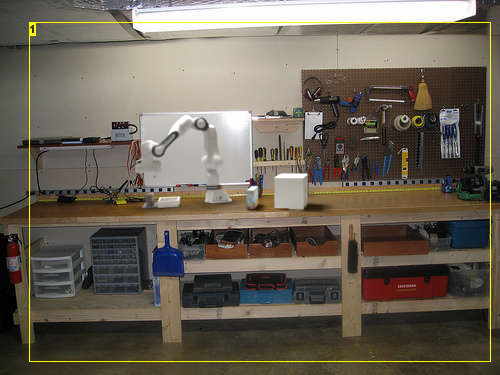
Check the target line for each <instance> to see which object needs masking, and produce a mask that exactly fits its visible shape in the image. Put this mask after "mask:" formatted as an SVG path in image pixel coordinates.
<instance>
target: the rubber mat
mask: <svg viewBox="0 0 500 375" xmlns="http://www.w3.org/2000/svg"><path fill="white" fill-rule="evenodd" d="M156 208H158V202H155V204H154V205H153V206H148V207H146V202H145V203H144V204H143V205H142V207H141V209H156Z"/></svg>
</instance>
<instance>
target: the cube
mask: <svg viewBox="0 0 500 375" xmlns="http://www.w3.org/2000/svg"><path fill="white" fill-rule="evenodd" d="M308 176H309V174H308V173H280V174H278V175H276V176H274V177H273V178H274V182H273V185H274V190H273V191H274V209H275V208H289V209H304V207H305V206H306V205H307V206H308V204H307V203H308V193H309V192H308V191H309V189H308V188H309V186H308V185H309V184H308V182H309V180H308V179H309V178H308ZM307 206H306V207H307ZM306 207H305V208H306ZM304 210H305V209H304Z"/></svg>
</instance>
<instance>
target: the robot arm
mask: <svg viewBox="0 0 500 375" xmlns="http://www.w3.org/2000/svg"><path fill="white" fill-rule="evenodd" d="M190 129H194V130H195V131H199V132H200V131H201V132H202V133H203V145H204V148H203V149H204V150H205V153H206V155H204V156H202V158H201V160H200V162H201V165H202V167H203V170H204V174H205V184H206V185H205V191H206V193H205V200H204V202H205V203H210V204H222V203H231V202H232V198H230V195H229V193H228V192H227V191H226V190H224V189H223V185H221V184H220V174H219V173H218V171H217V169H220V168H222V167H223V164H224V160H223V158H222V156H221V155H220V154H221V153H220V150H219V144H218V134H217V129H216V127H215V125H213V124H209V123H208V121H207V119H205V118H204V117H203V116H197V117H195V118H192V116H189V115H187V114H186V115H184V116H182V117H181V118H180V119H178V120H177V121H176V122H175V123H174V124H173V125H172V127H171V129H170V130H169V133H168V134H167V136H165V138H163V140H162V141H161V142H160V143H157V142H154V141H153V140H151V139H147V140H144V141H142V142H141V143H140V152H141V158H140V159H138V160H136V161H135V165H134V172H135V173H136V174H139V175H140V176H141V179H145V176H144V175H143V174H144V173H154V175H153V178H154V179H155V178H157V173H161V172H162V167H161V166H162V161H160V160H154V157H155V158H157V159H158V158H162V157H163V156H165V153H166V151H167V150H168V148H169V147H170V146H171V144H172V143H174V142H175V141H176V140H178V139H179V138H181V137H182V136H184V135H185V134H186V133H187V132H188V131H189V130H190Z"/></svg>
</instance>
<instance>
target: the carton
mask: <svg viewBox="0 0 500 375" xmlns="http://www.w3.org/2000/svg"><path fill="white" fill-rule="evenodd" d="M157 203H158V206H157V208H158V209H160V208H161V209H162V208H178V207H180V203H181V197H180V196H168V197H161V196H160V197H159V199H158V200H157Z"/></svg>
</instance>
